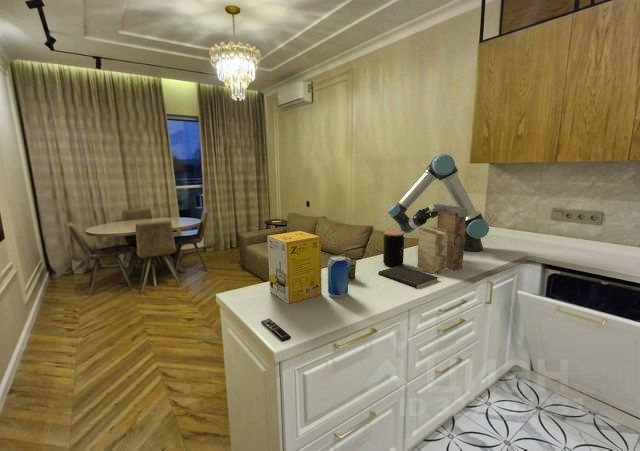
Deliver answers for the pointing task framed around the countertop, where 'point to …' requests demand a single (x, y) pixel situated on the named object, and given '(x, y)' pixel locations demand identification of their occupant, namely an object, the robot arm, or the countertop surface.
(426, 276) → the hardcover book
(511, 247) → the countertop surface
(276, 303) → the countertop surface
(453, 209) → the dark gray metal block
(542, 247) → the countertop surface
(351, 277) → the food container
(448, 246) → the brown wooden block
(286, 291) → the packaging box
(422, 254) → the tall pale wooden plank
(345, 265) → the beer can
